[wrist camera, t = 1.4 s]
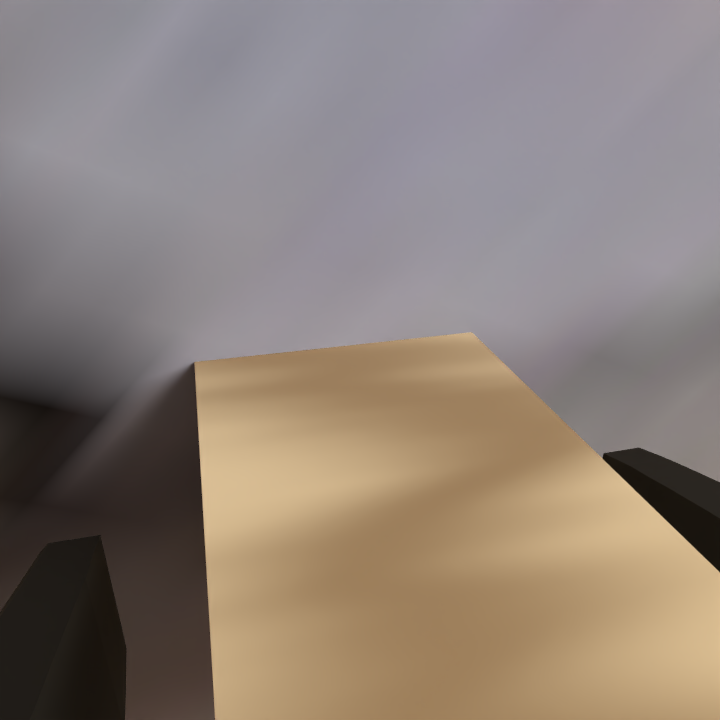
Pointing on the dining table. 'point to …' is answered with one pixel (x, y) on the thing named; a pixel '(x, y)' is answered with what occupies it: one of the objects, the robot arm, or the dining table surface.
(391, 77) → the dining table surface
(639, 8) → the dining table surface
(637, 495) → the birch block
